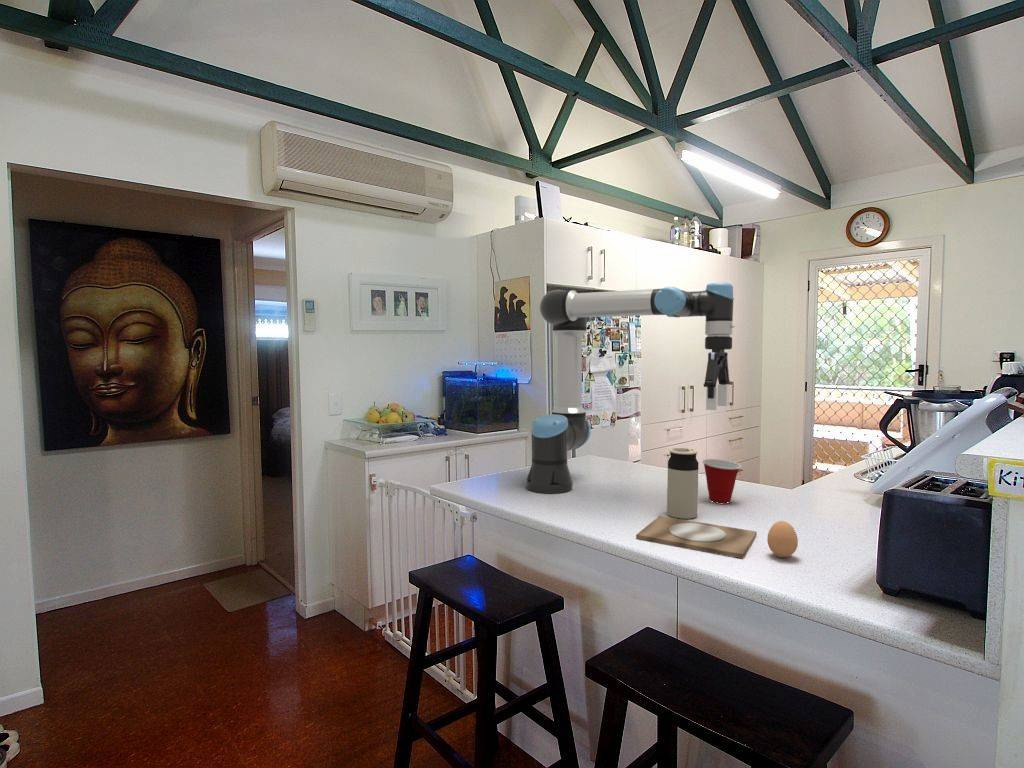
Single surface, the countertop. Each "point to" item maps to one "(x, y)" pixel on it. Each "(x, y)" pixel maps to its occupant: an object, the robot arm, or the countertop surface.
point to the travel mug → (682, 483)
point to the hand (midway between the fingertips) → (716, 407)
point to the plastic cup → (720, 479)
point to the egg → (782, 539)
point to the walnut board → (698, 536)
